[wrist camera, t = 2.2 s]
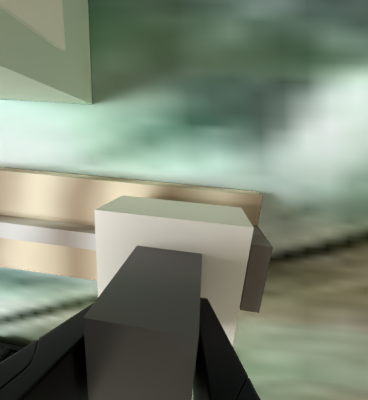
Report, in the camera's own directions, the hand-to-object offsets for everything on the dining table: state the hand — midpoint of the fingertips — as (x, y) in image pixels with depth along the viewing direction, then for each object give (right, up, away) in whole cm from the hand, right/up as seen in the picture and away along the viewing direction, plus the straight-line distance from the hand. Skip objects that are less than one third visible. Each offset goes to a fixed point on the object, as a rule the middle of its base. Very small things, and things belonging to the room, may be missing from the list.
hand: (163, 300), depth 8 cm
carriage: (+1, +1, +5) cm, 5 cm away
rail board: (-6, +2, +7) cm, 10 cm away
